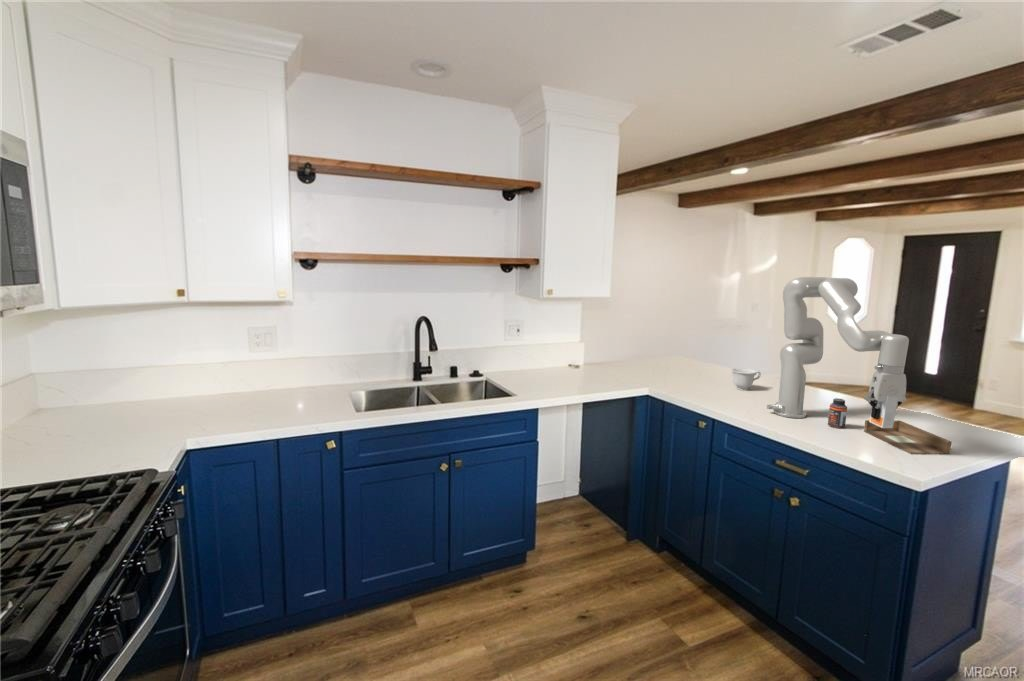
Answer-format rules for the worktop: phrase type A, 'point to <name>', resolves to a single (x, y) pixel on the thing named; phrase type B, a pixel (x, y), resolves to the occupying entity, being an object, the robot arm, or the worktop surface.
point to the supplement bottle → (837, 413)
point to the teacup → (744, 377)
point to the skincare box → (886, 413)
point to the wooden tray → (909, 438)
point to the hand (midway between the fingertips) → (882, 417)
